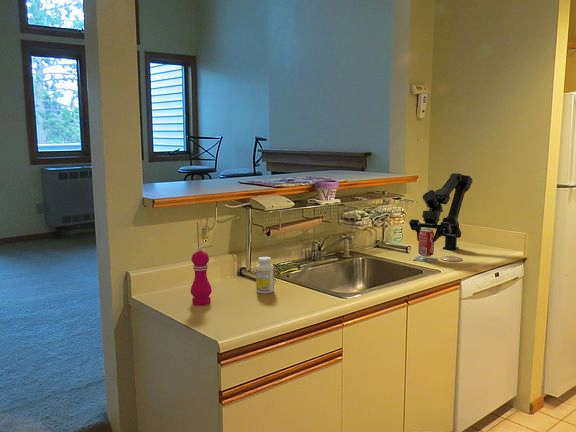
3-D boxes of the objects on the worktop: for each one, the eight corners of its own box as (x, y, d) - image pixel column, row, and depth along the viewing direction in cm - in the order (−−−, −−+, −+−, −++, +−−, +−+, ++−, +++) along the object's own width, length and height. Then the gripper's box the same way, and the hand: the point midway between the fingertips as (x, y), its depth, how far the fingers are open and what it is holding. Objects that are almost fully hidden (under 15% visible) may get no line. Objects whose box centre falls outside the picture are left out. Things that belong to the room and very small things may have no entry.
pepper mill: (193, 299, 195) (191, 244, 191) (213, 299, 194) (212, 244, 191) (189, 306, 187) (187, 249, 184) (210, 306, 187) (208, 249, 184)
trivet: (443, 255, 261) (443, 255, 261) (465, 258, 256) (465, 257, 256) (437, 260, 253) (437, 259, 253) (459, 262, 247) (459, 261, 247)
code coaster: (419, 256, 260) (419, 256, 260) (437, 258, 255) (437, 258, 255) (412, 260, 252) (412, 259, 252) (431, 262, 247) (431, 262, 247)
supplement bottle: (265, 287, 209) (265, 255, 207) (277, 291, 204) (277, 257, 202) (252, 291, 204) (252, 257, 202) (264, 295, 200) (264, 260, 198)
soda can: (432, 253, 257) (433, 228, 255) (434, 257, 250) (435, 231, 248) (417, 253, 258) (418, 228, 256) (419, 257, 251) (420, 231, 249)
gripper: (411, 202, 258) (401, 229, 251) (450, 205, 248) (442, 233, 241) (416, 216, 266) (407, 242, 259) (454, 219, 256) (447, 247, 249)
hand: (425, 241), depth 252 cm, fingers closed on soda can, 7 cm apart
